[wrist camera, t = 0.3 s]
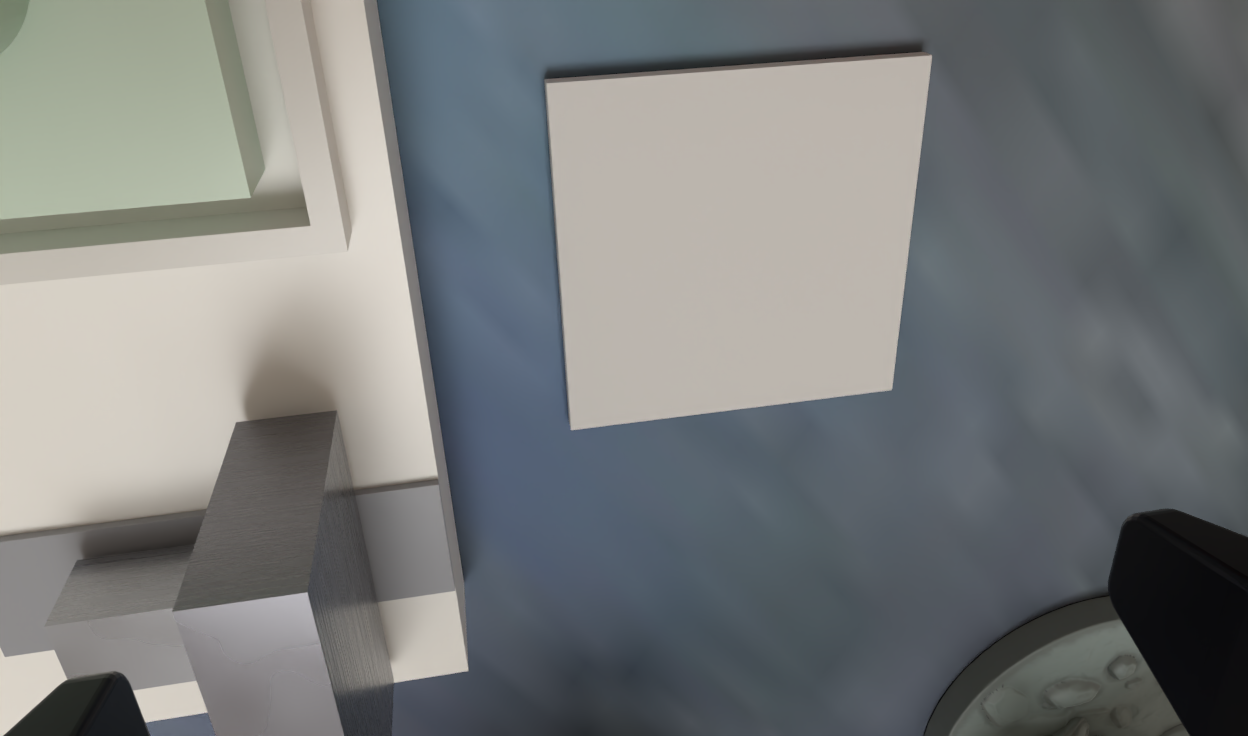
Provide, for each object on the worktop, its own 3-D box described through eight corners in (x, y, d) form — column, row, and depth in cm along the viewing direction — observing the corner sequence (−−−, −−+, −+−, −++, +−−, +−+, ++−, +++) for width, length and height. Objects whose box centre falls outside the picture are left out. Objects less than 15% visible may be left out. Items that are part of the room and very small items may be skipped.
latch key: (393, 679, 21) (384, 894, 17) (140, 720, 20) (63, 956, 16) (336, 410, 18) (307, 592, 13) (31, 446, 17) (-107, 651, 12)
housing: (464, 583, 24) (470, 704, 21) (4, 650, 23) (-72, 793, 19) (303, -486, 14) (262, -594, 11) (-546, -496, 13) (-913, -628, 9)
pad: (884, 381, 24) (891, 390, 23) (568, 421, 23) (570, 430, 22) (923, 51, 20) (932, 55, 20) (544, 79, 19) (546, 83, 18)
